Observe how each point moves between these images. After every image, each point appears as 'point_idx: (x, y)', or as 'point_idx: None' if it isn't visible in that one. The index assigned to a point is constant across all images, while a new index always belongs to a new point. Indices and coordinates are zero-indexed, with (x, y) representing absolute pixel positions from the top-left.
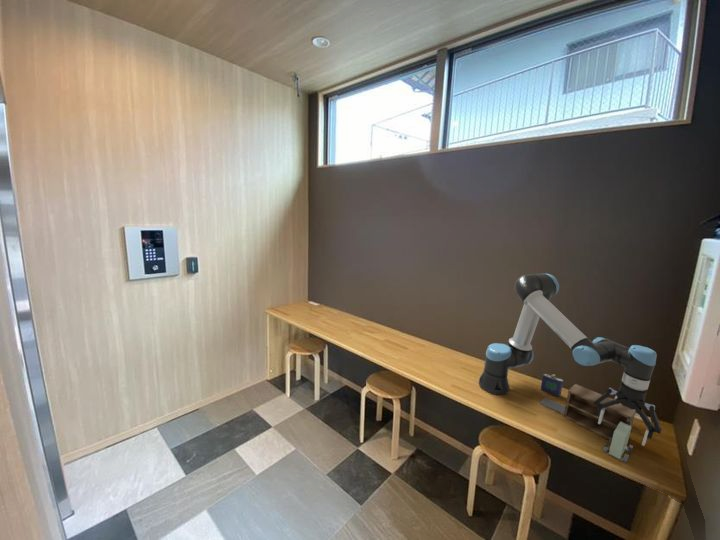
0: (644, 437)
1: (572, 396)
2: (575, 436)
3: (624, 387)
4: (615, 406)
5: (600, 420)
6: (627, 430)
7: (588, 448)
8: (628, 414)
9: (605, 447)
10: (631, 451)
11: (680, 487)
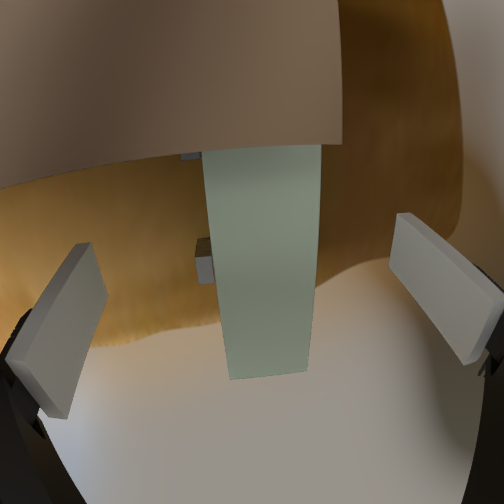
0: (426, 309)
1: None
2: None
3: None
4: (27, 27)
5: (95, 322)
6: (303, 276)
7: (154, 303)
8: (279, 94)
9: (204, 280)
10: None
11: (458, 213)
